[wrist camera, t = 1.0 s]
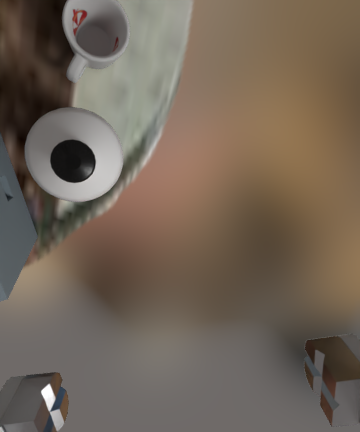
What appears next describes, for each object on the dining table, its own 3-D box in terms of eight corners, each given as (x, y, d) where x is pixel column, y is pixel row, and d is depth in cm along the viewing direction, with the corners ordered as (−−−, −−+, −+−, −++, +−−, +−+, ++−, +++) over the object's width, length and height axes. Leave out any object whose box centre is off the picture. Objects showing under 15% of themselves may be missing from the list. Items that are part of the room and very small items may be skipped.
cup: (96, 103, 44) (98, 94, 36) (45, 68, 41) (36, 51, 33) (131, 41, 43) (142, 20, 36) (83, 1, 40) (83, -31, 33)
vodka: (78, 107, 43) (73, 39, 15) (121, 154, 47) (178, 168, 19) (31, 148, 42) (-62, 153, 15) (78, 193, 46) (73, 265, 18)
